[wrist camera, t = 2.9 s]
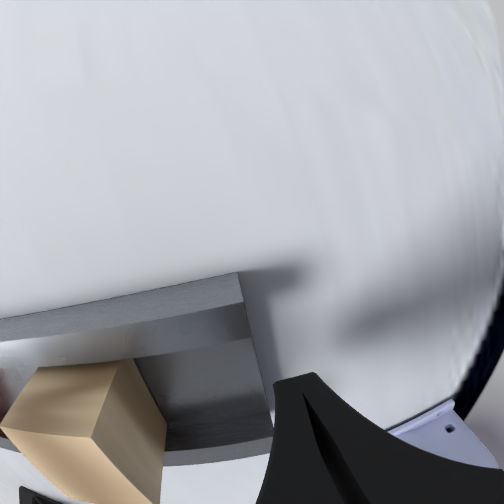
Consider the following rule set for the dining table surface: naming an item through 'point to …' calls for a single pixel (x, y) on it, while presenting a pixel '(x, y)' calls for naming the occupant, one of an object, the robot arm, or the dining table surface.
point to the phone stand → (33, 497)
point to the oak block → (91, 431)
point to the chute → (159, 362)
